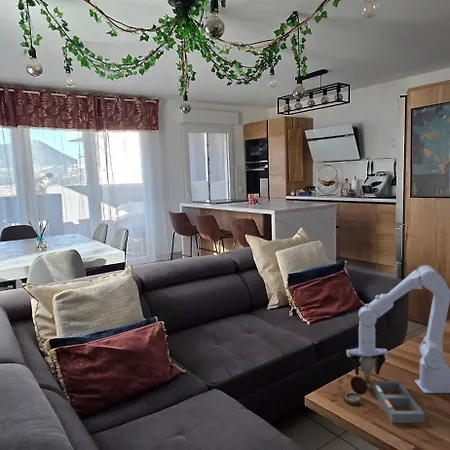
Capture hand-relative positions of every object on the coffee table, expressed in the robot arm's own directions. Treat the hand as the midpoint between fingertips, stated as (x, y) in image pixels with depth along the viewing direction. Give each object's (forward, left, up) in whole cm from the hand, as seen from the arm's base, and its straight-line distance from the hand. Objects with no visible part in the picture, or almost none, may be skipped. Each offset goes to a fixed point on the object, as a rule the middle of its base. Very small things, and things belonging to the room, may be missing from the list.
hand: (366, 373), depth 144 cm
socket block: (-5, +15, -3) cm, 16 cm away
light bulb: (0, 0, -3) cm, 3 cm away
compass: (+7, +12, -3) cm, 15 cm away
